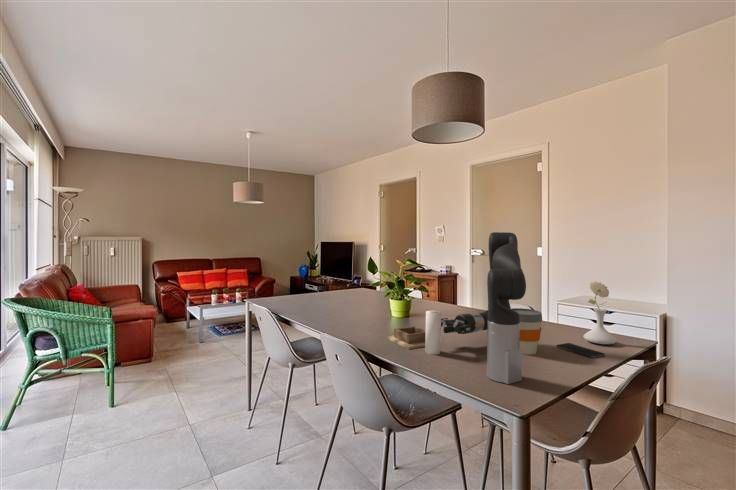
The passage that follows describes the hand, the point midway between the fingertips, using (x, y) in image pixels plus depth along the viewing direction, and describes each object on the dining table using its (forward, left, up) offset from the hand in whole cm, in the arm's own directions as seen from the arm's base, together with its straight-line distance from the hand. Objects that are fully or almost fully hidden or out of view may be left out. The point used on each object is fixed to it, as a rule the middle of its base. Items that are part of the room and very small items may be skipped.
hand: (436, 327), depth 135 cm
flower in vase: (-20, -68, -9) cm, 72 cm away
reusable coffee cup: (-14, -30, -9) cm, 35 cm away
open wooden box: (+15, +1, -9) cm, 18 cm away
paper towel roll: (0, +2, -9) cm, 9 cm away
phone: (-24, -49, -10) cm, 56 cm away
